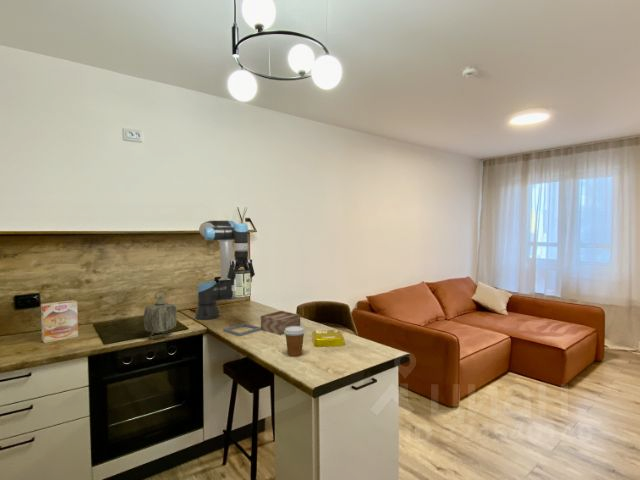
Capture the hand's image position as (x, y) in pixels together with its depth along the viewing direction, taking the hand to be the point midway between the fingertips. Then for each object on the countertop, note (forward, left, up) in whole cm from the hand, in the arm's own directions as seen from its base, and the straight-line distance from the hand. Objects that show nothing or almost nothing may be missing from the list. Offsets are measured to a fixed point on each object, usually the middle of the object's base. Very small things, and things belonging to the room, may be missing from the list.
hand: (241, 289), depth 200 cm
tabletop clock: (-24, -35, -24) cm, 49 cm away
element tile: (+50, +15, -24) cm, 58 cm away
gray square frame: (0, 0, -24) cm, 24 cm away
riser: (+15, +16, -24) cm, 32 cm away
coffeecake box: (-64, -71, -24) cm, 99 cm away
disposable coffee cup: (+50, -8, -24) cm, 56 cm away
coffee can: (0, 0, -4) cm, 4 cm away
